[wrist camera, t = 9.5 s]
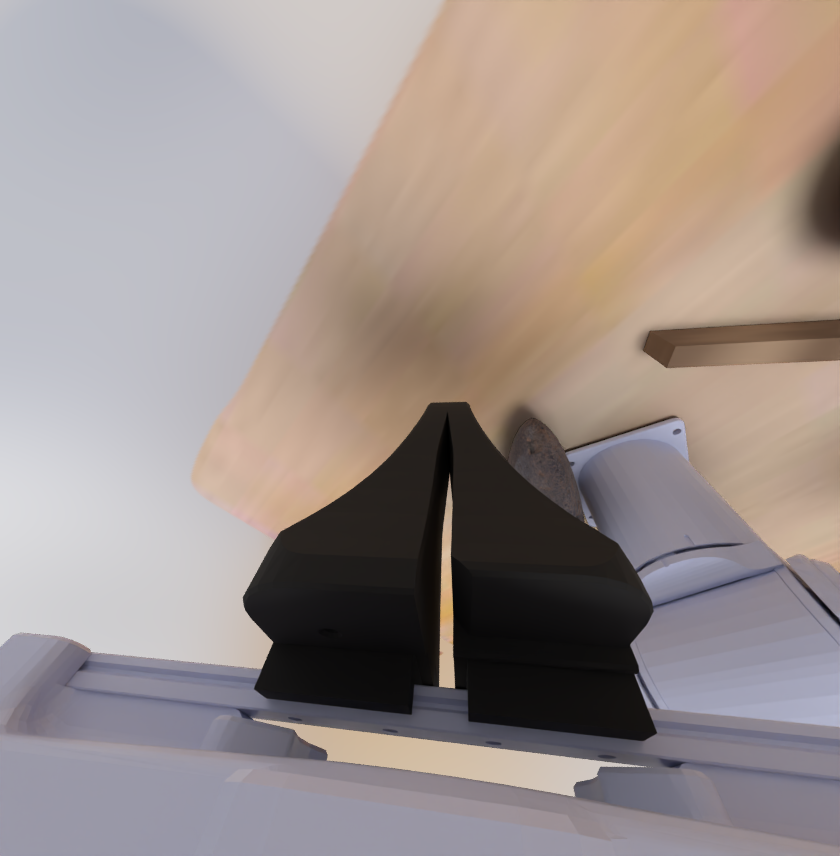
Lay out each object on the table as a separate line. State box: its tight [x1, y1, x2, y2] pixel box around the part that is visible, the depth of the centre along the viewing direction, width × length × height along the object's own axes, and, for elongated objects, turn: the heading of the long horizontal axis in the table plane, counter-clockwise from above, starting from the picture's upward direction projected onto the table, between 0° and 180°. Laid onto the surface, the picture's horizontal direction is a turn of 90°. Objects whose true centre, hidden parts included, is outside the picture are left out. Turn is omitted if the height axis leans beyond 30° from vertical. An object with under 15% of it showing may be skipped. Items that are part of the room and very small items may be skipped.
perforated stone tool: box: [508, 418, 584, 522], centre depth 22 cm, size 15×5×7 cm, turn 15°
